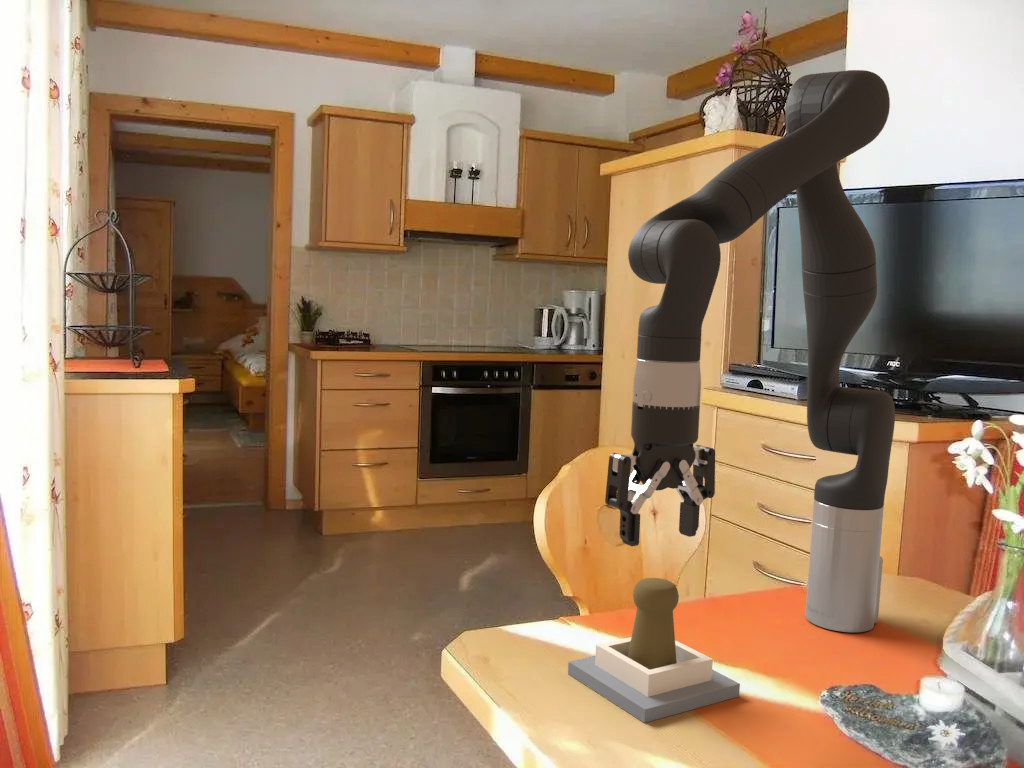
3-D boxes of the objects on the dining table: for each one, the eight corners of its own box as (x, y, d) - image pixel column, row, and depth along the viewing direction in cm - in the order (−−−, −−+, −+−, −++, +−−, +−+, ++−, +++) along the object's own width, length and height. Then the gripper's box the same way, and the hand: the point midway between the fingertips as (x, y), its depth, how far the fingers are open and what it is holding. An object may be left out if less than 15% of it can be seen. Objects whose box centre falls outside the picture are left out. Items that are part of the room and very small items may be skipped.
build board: (657, 652, 118) (659, 622, 117) (739, 696, 106) (741, 662, 105) (567, 673, 110) (569, 641, 110) (644, 723, 98) (646, 686, 98)
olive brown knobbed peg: (676, 686, 104) (681, 591, 103) (622, 679, 105) (627, 585, 104) (679, 665, 110) (684, 575, 109) (628, 659, 111) (632, 570, 110)
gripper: (690, 393, 111) (683, 524, 113) (595, 398, 104) (589, 539, 106) (736, 401, 105) (728, 540, 107) (638, 407, 97) (631, 556, 99)
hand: (659, 539), depth 106 cm, fingers open, 8 cm apart
